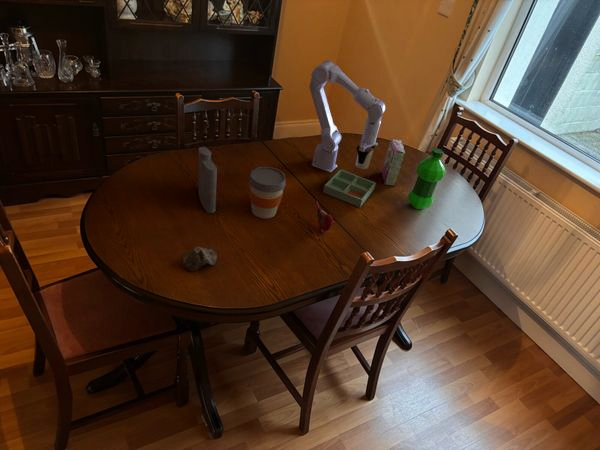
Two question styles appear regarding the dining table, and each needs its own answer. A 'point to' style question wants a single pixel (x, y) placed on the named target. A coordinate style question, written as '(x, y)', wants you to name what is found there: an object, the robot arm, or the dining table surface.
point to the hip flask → (207, 180)
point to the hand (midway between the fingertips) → (363, 160)
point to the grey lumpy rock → (199, 258)
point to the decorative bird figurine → (324, 219)
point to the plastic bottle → (427, 180)
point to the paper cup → (367, 160)
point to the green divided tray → (349, 188)
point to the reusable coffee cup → (266, 191)
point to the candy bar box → (393, 162)
